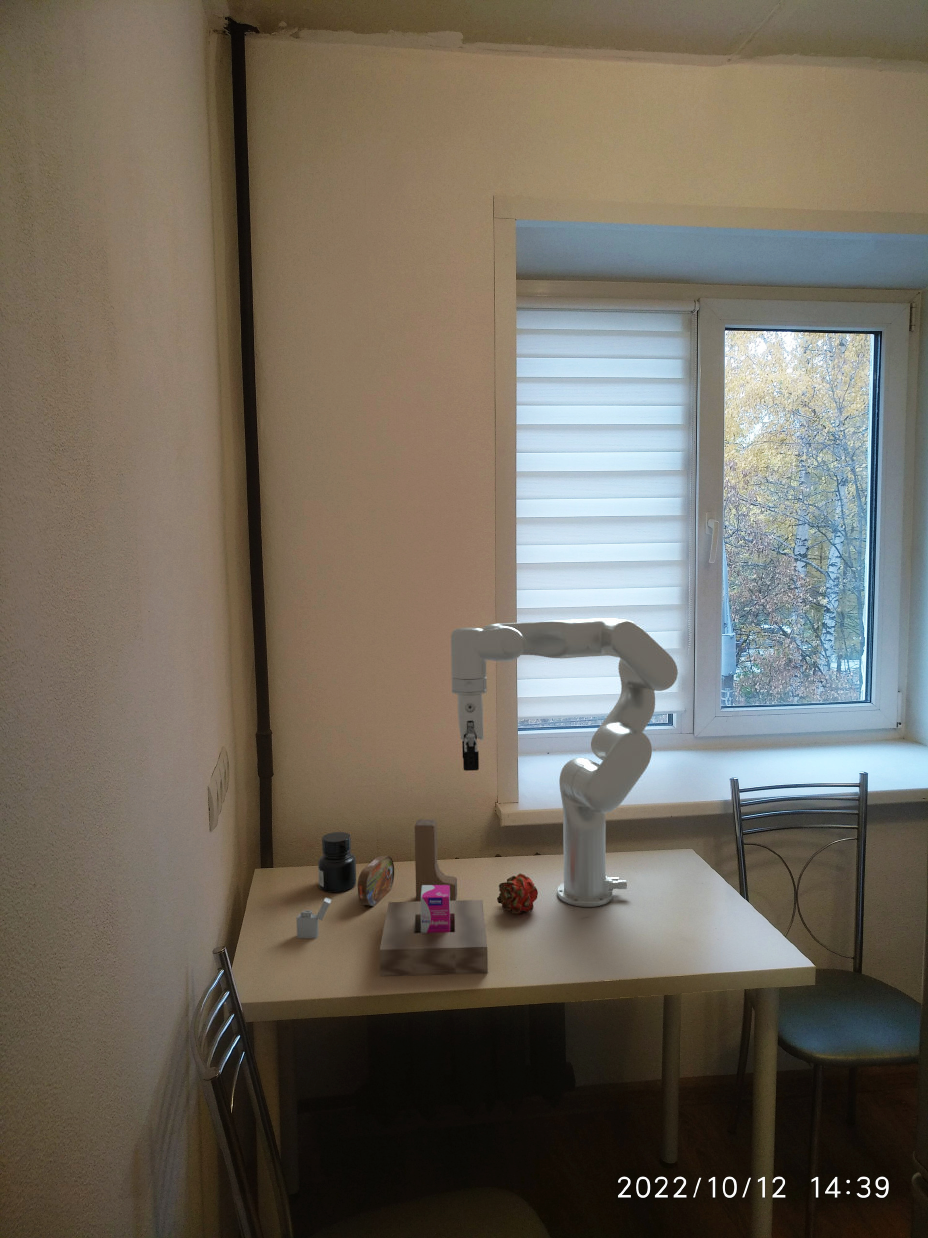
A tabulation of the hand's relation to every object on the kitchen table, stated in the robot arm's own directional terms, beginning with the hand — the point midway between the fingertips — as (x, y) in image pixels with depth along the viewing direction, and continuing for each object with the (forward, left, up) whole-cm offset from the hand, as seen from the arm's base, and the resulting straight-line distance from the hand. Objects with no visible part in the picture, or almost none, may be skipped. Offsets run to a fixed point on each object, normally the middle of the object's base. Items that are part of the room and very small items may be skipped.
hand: (470, 764), depth 160 cm
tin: (+22, -10, -34) cm, 41 cm away
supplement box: (+8, +14, -33) cm, 37 cm away
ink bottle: (+32, -17, -34) cm, 49 cm away
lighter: (+33, +8, -34) cm, 48 cm away
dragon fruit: (-10, -2, -34) cm, 35 cm away
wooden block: (+8, -8, -34) cm, 35 cm away
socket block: (+8, +14, -33) cm, 37 cm away
